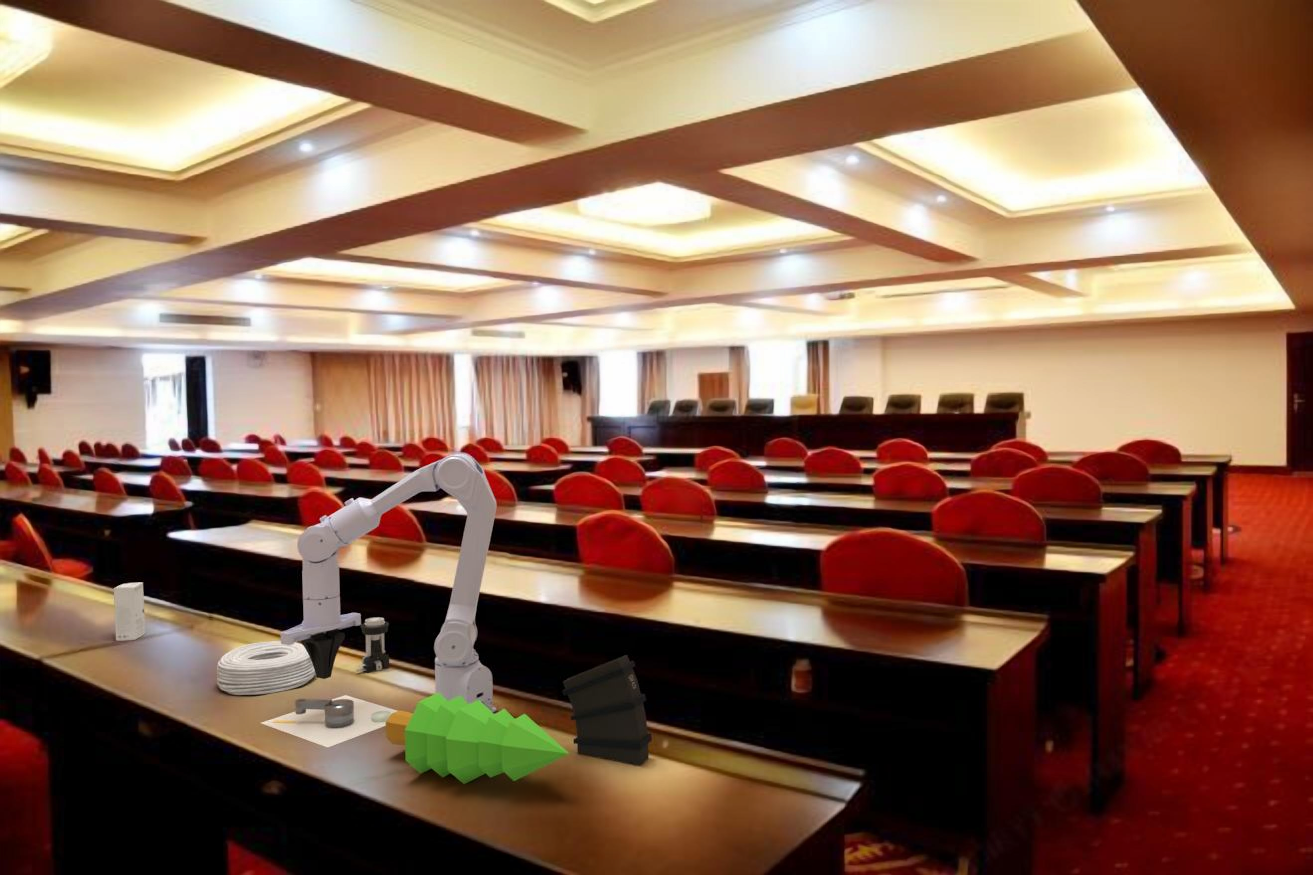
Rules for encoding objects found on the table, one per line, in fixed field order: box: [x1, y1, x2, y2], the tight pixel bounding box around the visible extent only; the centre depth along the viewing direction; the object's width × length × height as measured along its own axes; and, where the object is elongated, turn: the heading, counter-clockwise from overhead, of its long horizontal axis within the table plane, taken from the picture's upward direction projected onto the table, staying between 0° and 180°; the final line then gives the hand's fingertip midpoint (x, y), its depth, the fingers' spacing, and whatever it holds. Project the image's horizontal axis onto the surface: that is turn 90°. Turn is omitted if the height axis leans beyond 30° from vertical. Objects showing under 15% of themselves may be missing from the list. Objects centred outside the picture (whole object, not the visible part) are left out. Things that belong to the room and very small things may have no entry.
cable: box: [216, 640, 316, 696], centre depth 162 cm, size 18×18×6 cm
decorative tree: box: [385, 693, 570, 785], centre depth 119 cm, size 11×12×30 cm
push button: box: [355, 616, 390, 673], centre depth 169 cm, size 7×5×10 cm
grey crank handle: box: [294, 698, 354, 727], centre depth 138 cm, size 10×4×3 cm, turn 85°
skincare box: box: [113, 582, 146, 642], centre depth 194 cm, size 6×4×12 cm
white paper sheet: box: [260, 694, 398, 748], centre depth 139 cm, size 18×16×2 cm
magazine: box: [561, 654, 653, 766], centre depth 127 cm, size 4×13×15 cm, turn 64°
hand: (323, 677), depth 142 cm, fingers closed
